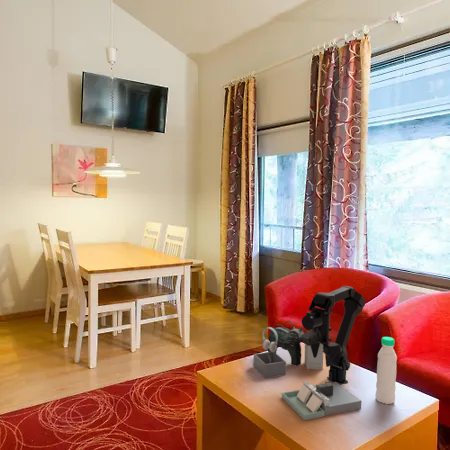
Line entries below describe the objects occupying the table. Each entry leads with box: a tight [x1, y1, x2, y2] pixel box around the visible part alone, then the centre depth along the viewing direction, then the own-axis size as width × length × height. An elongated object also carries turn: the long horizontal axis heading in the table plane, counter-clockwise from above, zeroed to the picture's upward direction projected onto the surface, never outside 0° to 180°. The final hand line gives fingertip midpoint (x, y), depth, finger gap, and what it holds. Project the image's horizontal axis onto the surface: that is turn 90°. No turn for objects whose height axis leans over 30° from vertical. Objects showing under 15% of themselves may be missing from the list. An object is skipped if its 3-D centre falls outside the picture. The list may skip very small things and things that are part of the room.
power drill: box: [267, 320, 305, 367], centre depth 194 cm, size 20×6×20 cm, turn 43°
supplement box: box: [304, 343, 324, 370], centre depth 188 cm, size 7×7×13 cm
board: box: [309, 382, 362, 416], centre depth 157 cm, size 16×16×3 cm
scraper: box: [302, 380, 333, 407], centre depth 155 cm, size 8×15×4 cm, turn 20°
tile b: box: [306, 394, 322, 412], centre depth 150 cm, size 5×5×1 cm
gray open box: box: [253, 351, 287, 379], centre depth 183 cm, size 10×12×6 cm
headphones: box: [261, 326, 278, 364], centre depth 182 cm, size 8×4×20 cm, turn 46°
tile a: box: [297, 384, 311, 403], centre depth 157 cm, size 5×5×1 cm
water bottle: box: [375, 336, 398, 405], centre depth 157 cm, size 7×7×25 cm
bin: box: [281, 389, 326, 421], centre depth 153 cm, size 8×17×2 cm, turn 20°
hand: (321, 361), depth 165 cm, fingers open, 9 cm apart
